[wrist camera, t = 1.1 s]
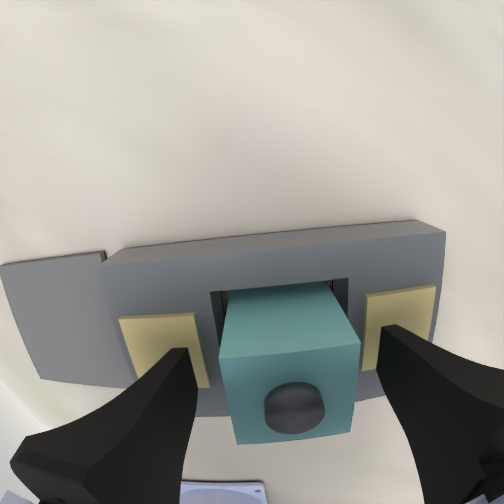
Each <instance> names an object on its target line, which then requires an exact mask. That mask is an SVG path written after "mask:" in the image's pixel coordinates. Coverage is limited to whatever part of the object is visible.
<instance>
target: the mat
mask: <svg viewBox="0 0 504 504" xmlns="http://www.w3.org/2000/svg"><path fill="white" fill-rule="evenodd" d="M104 261H106V260H105V256H104V251H103V252H95V253H87V254H79V255H71V256H63V257H55V258H48V259H40V260H32V261H25V262H18V263H10V264H3V265H0V276H1V280H2V283H3V286H4V290H5V293H6V296H7V299H8V302H9V305H10V308H11V311H12V313H13V316H14V319H15V321H16V324H17V327H18V329H19V332H20V334H21V337H22V339H23V342H24V344H25V346H26V349H27V351H28V353H29V355H30V357H31V360H32V362H33V364H34V366H35V368H36V370H37V372H38V374H39V376H40V378H41V379H45V380H52V381H59V382H66V383H74V384H82V385H92V386H102V387H114V388H128V387H130V386H131V385H132V384H133V383H134V381H133V379H132V376H131V374H130V371H129V368H128V366H127V363H126V360H125V357H124V354H123V352H122V349H121V346H120V343H119V340H118V337H117V334H116V331H115V328H114V325H113V321H112V318H111V315H110V311H109V308H108V305H107V301H106V298H105V294H104V290H103V286H102V283H101V279H100V275H99V271H98V267H97V266H99V265H100V264H101V263H103V262H104Z"/></svg>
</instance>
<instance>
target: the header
mask: <svg viewBox="0 0 504 504" xmlns="http://www.w3.org/2000/svg"><path fill="white" fill-rule="evenodd" d="M445 241H446V232H445V231H443V230H441V229H438V228H436V227H433V226H431V225H429V224H426V223H424V222H421V221H419V220H413V221H400V222H388V223H376V224H364V225H352V226H341V227H330V228H319V229H308V230H297V231H287V232H276V233H266V234H256V235H246V236H237V237H227V238H217V239H208V240H199V241H189V242H180V243H171V244H162V245H154V246H145V247H136V248H128V249H121V250H120V251H118V252H117V253H115V254H114V255H112V256H111V257H110V258H108V259H107V260H106V261H104V262H103V263H101V264H100V265H99V266H97V267H98V271H99V275H100V279H101V283H102V286H103V290H104V294H105V298H106V301H107V305H108V308H109V311H110V315H111V318H112V321H113V325H114V328H115V331H116V334H117V337H118V340H119V343H120V346H121V349H122V352H123V354H124V357H125V360H126V363H127V366H128V368H129V371H130V374H131V376H132V379H133V381H134V382H136V381H137V380H138V379H139V378H140V377H142V376H143V375H144V374H145V373H146V372H147V371H148V370H149V369H150V368H151V367H152V366H153V365H154V364H155V363H156V362H158V361H159V360H160V359H161V358H162V357H163V356H164V355H165V354H166V353H167V352H168V351H169V350H170V349H171V348H181V347H188V350H189V354H190V358H191V362H192V366H193V370H194V374H195V377H196V381H197V385H198V399H197V408H196V414H195V417H216V416H231V415H230V410H229V406H228V401H227V397H226V392H225V388H224V383H223V378H222V373H221V368H220V363H219V352H220V346H221V341H222V335H223V329H224V323H225V319H224V312H223V306H222V300H221V293H220V291H226V290H237V289H248V288H258V287H269V286H279V285H288V284H298V283H307V282H316V281H325V280H333V294H334V296H335V298H336V299H337V301H338V303H339V305H340V306H341V308H342V310H343V312H344V313H345V315H346V317H347V319H348V320H349V322H350V324H351V326H352V328H353V329H354V331H355V333H356V335H357V336H358V338H359V340H360V342H361V347H360V358H359V368H358V378H357V386H356V394H355V402H356V401H361V400H366V399H371V398H376V397H380V396H384V395H385V393H384V391H383V388H382V385H381V383H380V380H379V377H378V374H377V371H376V365H377V358H378V350H379V341H380V332H381V327H382V326H387V325H393V324H397V325H399V326H401V327H403V328H405V329H407V330H409V331H410V332H412V333H414V334H416V335H418V336H420V337H421V338H423V339H425V340H427V341H429V342H431V343H432V341H433V336H434V330H435V325H436V319H437V313H438V307H439V300H440V293H441V285H442V276H443V267H444V255H445Z"/></svg>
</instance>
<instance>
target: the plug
mask: <svg viewBox="0 0 504 504" xmlns="http://www.w3.org/2000/svg"><path fill="white" fill-rule="evenodd" d="M360 347H361V342H360V340H359V338H358V336H357V335H356V333H355V331H354V329H353V328H352V326H351V324H350V322H349V320H348V319H347V317H346V315H345V313H344V312H343V310H342V308H341V306H340V305H339V303H338V301H337V299H336V298H335V296H334V294H333V293H332V291H331V289H330V287H329V286H328V284H327V282H326V281H316V282H307V283H298V284H288V285H279V286H269V287H258V288H248V289H237V290H230V295H229V300H228V306H227V312H226V317H225V323H224V329H223V335H222V341H221V346H220V352H219V363H220V368H221V373H222V378H223V383H224V388H225V392H226V397H227V401H228V406H229V410H230V415H231V419H232V424H233V428H234V432H235V436H236V441H237V445H239V444H259V443H272V442H283V441H293V440H301V439H309V438H316V437H323V436H329V435H335V434H340V433H346V432H350V428H351V422H352V416H353V409H354V402H355V394H356V386H357V378H358V368H359V358H360Z"/></svg>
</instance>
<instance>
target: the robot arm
mask: <svg viewBox="0 0 504 504" xmlns="http://www.w3.org/2000/svg"><path fill="white" fill-rule="evenodd" d="M376 371H377V374H378V377H379V380H380V383H381V385H382V388H383V391H384V393H385V395H386V397H387V398H388V400H389V402H390V404H391V406H392V408H393V410H394V412H395V414H396V416H397V418H398V420H399V422H400V424H401V426H402V428H403V430H404V432H405V434H406V436H407V439H408V441H409V444H410V447H411V450H412V453H413V457H414V460H415V463H416V467H417V470H418V474H419V478H420V482H421V487H422V492H423V496H424V502H425V504H504V370H502V369H498V368H494V367H489V366H486V365H482V364H479V363H476V362H473V361H470V360H468V359H465V358H462V357H460V356H457V355H455V354H453V353H451V352H449V351H446V350H444V349H442V348H440V347H438V346H436V345H434V344H432V343H431V342H429V341H427V340H425V339H423V338H421V337H420V336H418V335H416V334H414V333H412V332H410V331H409V330H407V329H405V328H403V327H401V326H399V325H397V324H393V325H387V326H382V327H381V332H380V341H379V350H378V358H377V365H376ZM197 399H198V385H197V381H196V377H195V374H194V370H193V366H192V362H191V358H190V354H189V350H188V347H181V348H171V349H170V350H169V351H168V352H167V353H166V354H165V355H164V356H163V357H162V358H161V359H160V360H159V361H158V362H156V363H155V364H154V365H153V366H152V367H151V368H150V369H149V370H148V371H147V372H146V373H145V374H144V375H143V376H142V377H140V378H139V379H138V380H137V381H136V382H134V383H133V384H132V385H131V386H130V387H128V388H127V389H126V390H125V391H124V392H122V393H121V394H120V395H118V396H117V397H115V398H114V399H113V400H111V401H110V402H108V403H107V404H105V405H103V406H102V407H100V408H98V409H97V410H95V411H93V412H91V413H89V414H87V415H85V416H83V417H82V418H80V419H77V420H75V421H73V422H71V423H68V424H66V425H63V426H61V427H58V428H55V429H52V430H49V431H45V432H42V433H38V434H34V435H30V436H26V437H25V439H24V440H23V442H22V443H21V445H20V446H19V448H18V449H17V451H16V453H15V454H14V456H13V457H12V459H11V460H10V466H11V468H12V470H13V472H14V473H15V475H16V476H17V477H18V478H19V479H20V481H22V483H23V484H24V485H25V486H26V487H27V488H28V489H29V490H30V491H31V492H32V493H33V494H34V495H35V496H36V497H38V498H39V499H40V502H39V504H267V499H266V494H265V488H264V484H263V483H260V482H249V483H203V482H184V481H181V480H182V471H183V463H184V458H185V454H186V450H187V446H188V442H189V438H190V434H191V430H192V426H193V422H194V418H195V414H196V408H197ZM0 504H33V503H32V502H30V501H29V500H27V499H25V498H22V497H20V496H19V495H17V494H15V493H13V492H11V491H6V493H5V495H4V496H3V498H2V500H1V502H0Z"/></svg>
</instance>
